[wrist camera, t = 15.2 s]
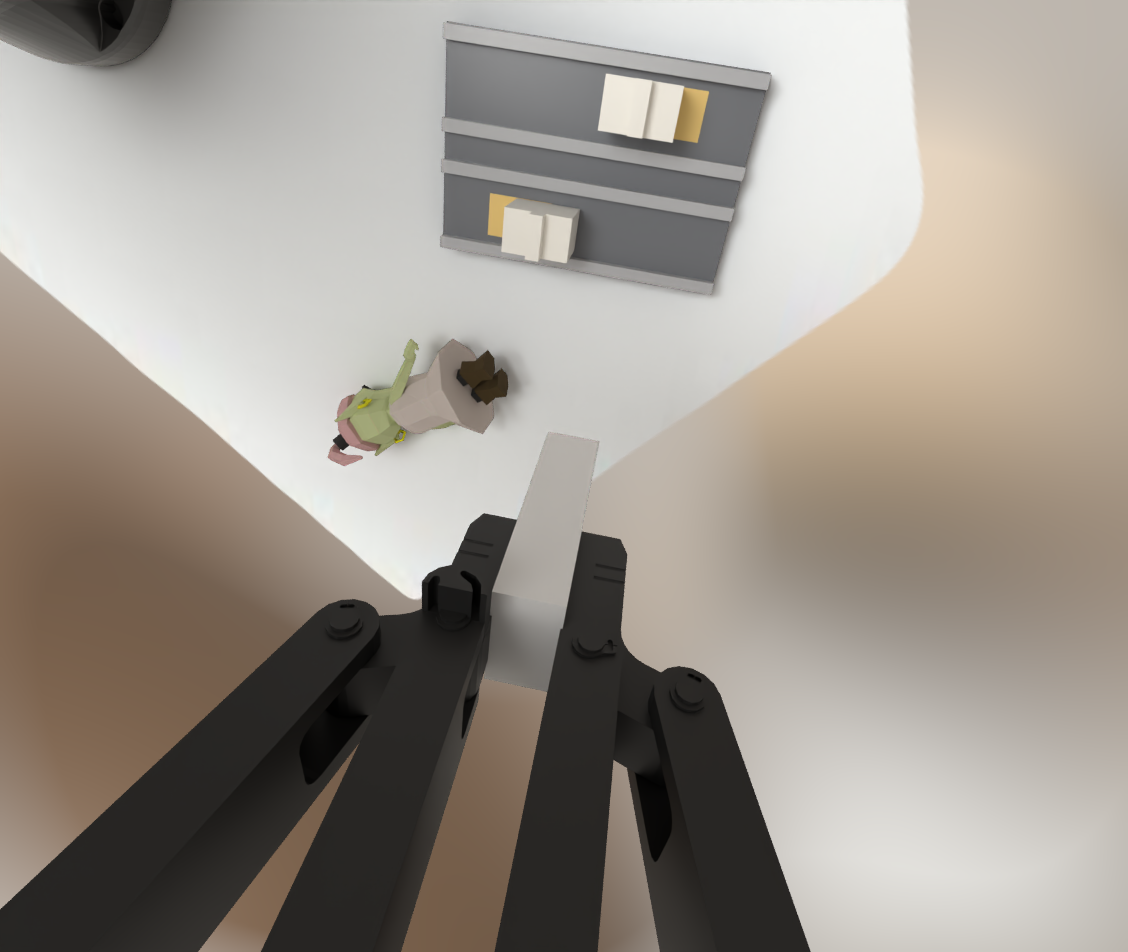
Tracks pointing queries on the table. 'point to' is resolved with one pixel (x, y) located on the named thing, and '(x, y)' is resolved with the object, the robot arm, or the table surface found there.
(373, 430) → the figurine
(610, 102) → the tab
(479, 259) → the table surface
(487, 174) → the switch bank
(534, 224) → the tab
